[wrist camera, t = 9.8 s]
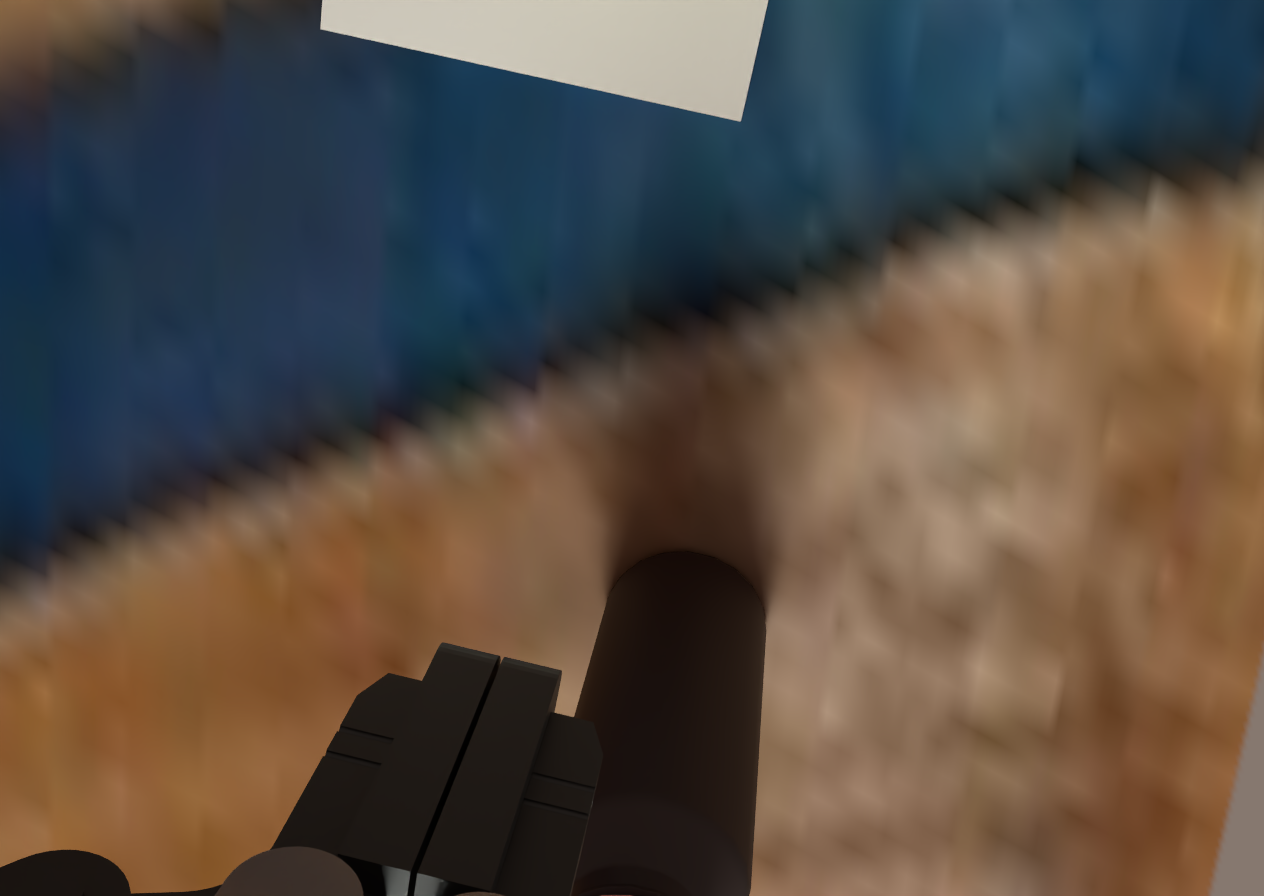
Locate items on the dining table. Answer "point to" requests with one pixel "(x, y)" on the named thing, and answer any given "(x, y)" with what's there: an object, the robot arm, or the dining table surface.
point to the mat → (582, 42)
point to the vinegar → (674, 732)
